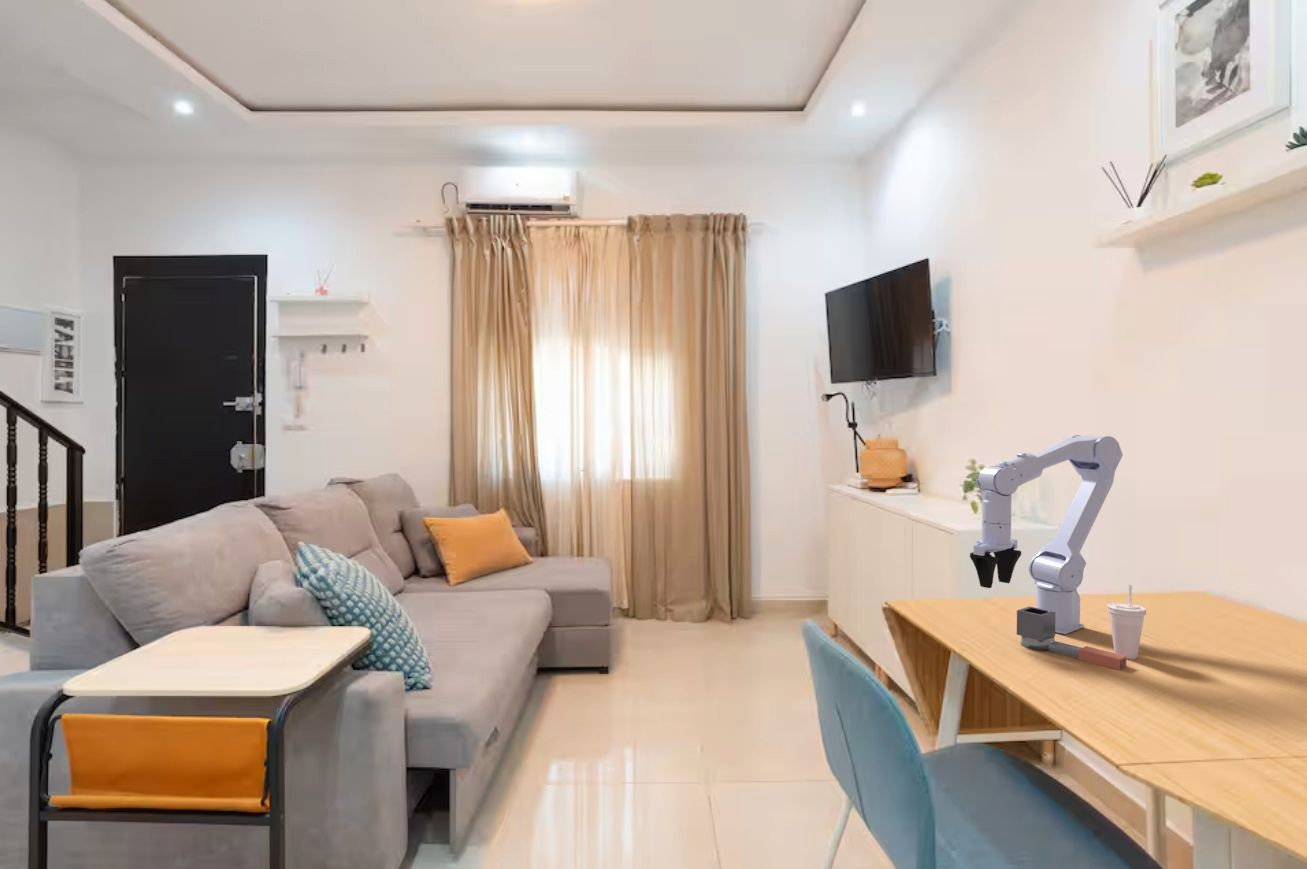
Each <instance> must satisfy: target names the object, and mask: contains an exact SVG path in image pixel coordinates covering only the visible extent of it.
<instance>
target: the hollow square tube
mask: <svg viewBox="0 0 1307 869" xmlns="http://www.w3.org/2000/svg"><path fill="white" fill-rule="evenodd" d="M1055 614H1056V612H1053V611H1049V610H1044V609H1039V608H1036V607H1033V606H1026V607H1023V608H1020V609H1018V610H1016V635H1017V636H1024V637H1029V638H1033V639H1037V640H1041V641H1044V640H1047V639H1049V638H1052V637H1054V638H1056V632H1055Z"/></svg>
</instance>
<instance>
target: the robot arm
mask: <svg viewBox="0 0 1307 869" xmlns="http://www.w3.org/2000/svg"><path fill="white" fill-rule="evenodd" d="M1123 455H1124V454H1123V452H1122V449H1121V446H1120V443H1119V441H1118V440H1117V439H1116V438H1115V437H1113V436H1110V435H1105V436H1094V435H1091V436H1090V435H1082V434H1081V435H1079V434H1075V435H1072V436H1070V437H1066V438H1063V440H1062V441H1059V443H1057V444H1054V445H1053V446H1050V447H1048V448H1046V449H1044V450H1043V451H1041V452H1038V453H1036V454H1032V453H1028V452H1019V453H1017V454H1016V457H1013V458H1011V459H1010V460H1008V461H1002V460H1001V462H999V464H998V465H997V466H986V467H984V468H983V469H982V470H981V471H980V472H979V474H978V477H977V478H976V479H975V482H976V486H977V487H978V490H979V491H980V498H981V539H977V540H976V544H974V545H973V551H972V552H970V553H969V558H970V560H971V562H972V563H973V565H974V567H975V570H976V573H977V577H978V582H979V585H980V587H982V588H985V589H986V588H988V589H991V588H992V586H993V583H994V576H995V575H994V573H995V570H996V569H997V570H996V571H997V577H998V578H997V579H998V582H999V583H1004V584H1010V583H1011V579H1012V577H1013V572H1014V570H1015V568H1016V567H1015V566H1016V564H1017V563H1018V560H1019V558H1020V557H1021V556H1022V550H1018V539H1012V495H1013V494H1015V493H1016V491H1017V490H1018V487H1020V486H1022V485H1024V484H1026V483H1029V482H1031V481H1033V480H1036V479H1037V478H1038V479H1039V477H1041V476H1042V475H1043V470H1045V469H1047V468H1050V467H1052V466H1055V465H1058V464H1061V463H1064V462H1066V461H1068V462H1070V464H1071V465H1072V467H1073V468H1074V469H1075V471H1076V473H1078V475H1079V476H1081V477H1080V478H1081V479H1082V481H1081V484H1080V485H1079V488H1078V490H1077V492H1076V494H1075V495H1074V497H1073V500H1072V502H1071V503H1070V505H1069V508H1068V510H1067V512H1066V515H1065V516H1064V519H1063V520H1062V522H1061V524H1060V527H1059V529H1058V531H1057V533H1056V535H1055V537H1054V538H1053V541H1051V542H1049V543H1048V544H1044V545H1043V546H1041V548H1040V549H1039V552H1038V553H1037V554H1036V555H1034V556H1033V557H1032V559H1031V560H1030V561H1029V565H1028V572H1029V576H1030V578H1032V579H1033V580H1034V585H1036V607H1035V608H1039V609H1044V610H1049V611H1053V612H1056V614H1055V633H1057V634H1063V635H1068V634H1069V633H1072V632H1075V631H1078V630H1080V629H1082V628H1085V624H1082V623H1081V597H1080V594H1079V592H1078V589H1077V588H1079V587H1080V586H1081V584H1082V582H1083V578H1084V570H1085V567H1086V565H1087V562H1086V560H1085V558H1084V557H1083V555H1082V554H1081V551H1082V549H1083V547H1084V544H1085V542H1086V539H1087V538H1088V536H1089V533H1090V531H1091V530H1092V527H1093V526H1094V523H1095V522H1096V519H1097V518H1098V515H1099V512H1100V511H1101V509H1102V507H1103V504H1104V502H1105V501H1106V498H1107V497H1108V495H1109V493H1110V491H1111V488H1112V487H1113V484H1114V480H1115V476H1116V475H1115V474H1116V470H1117V468H1118V466H1119V464H1120V462H1121V460H1122V458H1123ZM1016 549H1017V550H1016ZM992 553H993V555H992Z"/></svg>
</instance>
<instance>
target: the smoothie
mask: <svg viewBox="0 0 1307 869" xmlns="http://www.w3.org/2000/svg"><path fill="white" fill-rule="evenodd" d="M1127 588H1128V591H1127V592H1128V594H1127V596H1128V598H1127V603H1125V602H1111V603H1110V602H1109V603H1108V604H1107V608H1106V609H1107V611H1108V612H1109V620H1110V628H1111V636H1112V644H1113V653H1116V654H1120V655H1125V656H1126V660H1127V659H1128V660H1135V659H1138V655H1139V649H1140V648H1139V647H1140V642H1141V638H1142V637H1141V636H1142V630H1143V624H1144V618H1145V616H1147V608H1146V607H1144V606H1141V605H1136V604H1132V599H1133V598H1132V596H1133V595H1132V594H1133V593H1132V592H1133V590H1132V589H1133V585H1132V584H1128V587H1127Z"/></svg>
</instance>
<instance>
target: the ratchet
mask: <svg viewBox="0 0 1307 869" xmlns="http://www.w3.org/2000/svg"><path fill="white" fill-rule="evenodd" d="M1055 638H1056V637H1052V638H1049V639H1047V640H1044V641H1041V640H1037V639H1033V638H1029V637H1024V636H1021V637H1020V644H1021V646H1022V647H1024V648H1026V649H1028V650H1031V651H1032V650H1033V651H1037V652H1038V651H1039V652H1051V653H1054V654H1058V655H1063V656H1066V657H1070V658H1074V659H1077V660H1079V661H1084V662H1088V663H1090V664H1095V665H1097V666H1098V665H1099V666H1102V667H1107V668H1110V669H1115V670H1118V671H1120V670H1121V669H1124V668H1126V667H1127V659H1126V656H1125V655H1120V654H1116V653H1114V652H1113V651H1112V652H1111V651H1108V650H1104V649H1099V648H1095V647H1092V646H1083V647H1082V646H1077V645H1072V644H1069V643H1065V642H1061V641H1056V640H1055Z"/></svg>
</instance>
